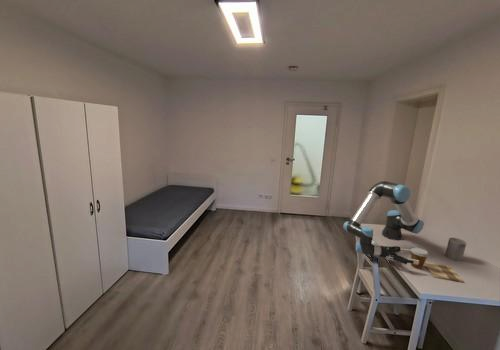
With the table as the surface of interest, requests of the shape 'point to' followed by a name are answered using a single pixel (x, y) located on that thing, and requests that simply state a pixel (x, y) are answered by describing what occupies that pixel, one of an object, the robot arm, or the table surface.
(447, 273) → the subfloor panel
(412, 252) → the disposable coffee cup
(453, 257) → the pillar candle
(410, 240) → the table surface
